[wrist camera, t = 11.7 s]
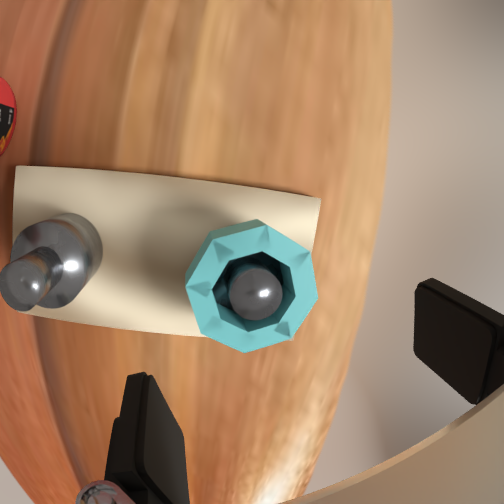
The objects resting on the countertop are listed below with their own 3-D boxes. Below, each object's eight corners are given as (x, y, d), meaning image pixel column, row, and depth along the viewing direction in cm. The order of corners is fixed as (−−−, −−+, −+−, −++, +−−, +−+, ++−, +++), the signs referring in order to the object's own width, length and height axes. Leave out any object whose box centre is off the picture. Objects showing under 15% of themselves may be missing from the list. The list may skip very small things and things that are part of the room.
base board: (25, 165, 19) (16, 165, 17) (313, 197, 24) (321, 198, 22) (24, 304, 21) (17, 311, 20) (287, 332, 26) (293, 340, 25)
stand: (40, 210, 19) (-23, 230, 11) (105, 216, 20) (61, 240, 12) (40, 279, 20) (-14, 326, 12) (102, 288, 21) (65, 343, 13)
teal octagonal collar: (175, 240, 18) (174, 250, 16) (289, 210, 19) (303, 215, 17) (207, 342, 20) (211, 362, 18) (309, 312, 21) (322, 327, 19)
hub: (201, 219, 21) (206, 233, 16) (288, 229, 22) (319, 247, 17) (192, 304, 22) (194, 342, 17) (274, 310, 24) (298, 346, 18)
